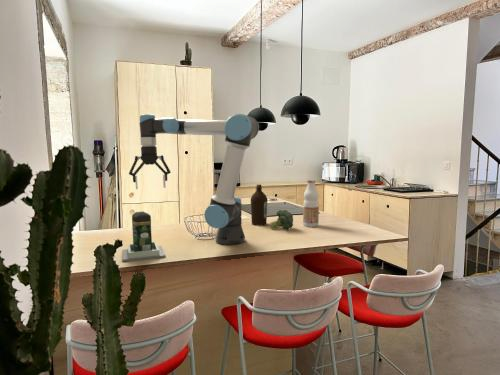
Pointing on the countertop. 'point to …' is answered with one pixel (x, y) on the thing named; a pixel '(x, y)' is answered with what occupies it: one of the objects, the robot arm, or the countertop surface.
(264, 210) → the olive oil
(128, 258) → the jar dock
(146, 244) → the coffee jar
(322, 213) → the countertop surface
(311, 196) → the fruit juice
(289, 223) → the vegetable
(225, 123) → the robot arm
